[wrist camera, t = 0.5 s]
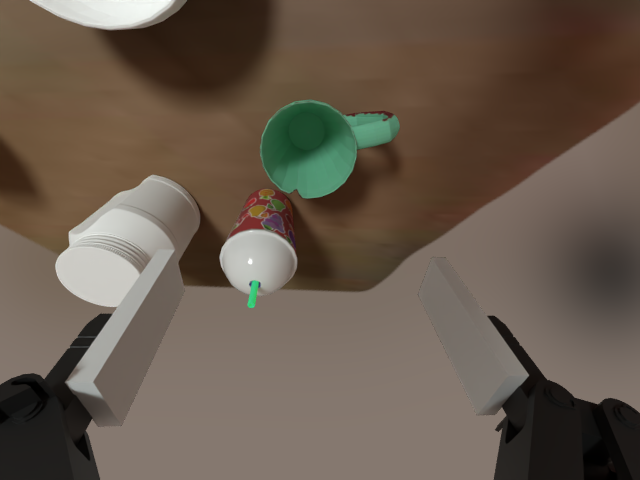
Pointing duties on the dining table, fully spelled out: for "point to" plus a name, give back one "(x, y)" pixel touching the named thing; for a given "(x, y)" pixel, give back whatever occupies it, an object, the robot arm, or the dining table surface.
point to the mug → (319, 145)
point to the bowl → (112, 12)
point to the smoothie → (261, 246)
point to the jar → (127, 239)
